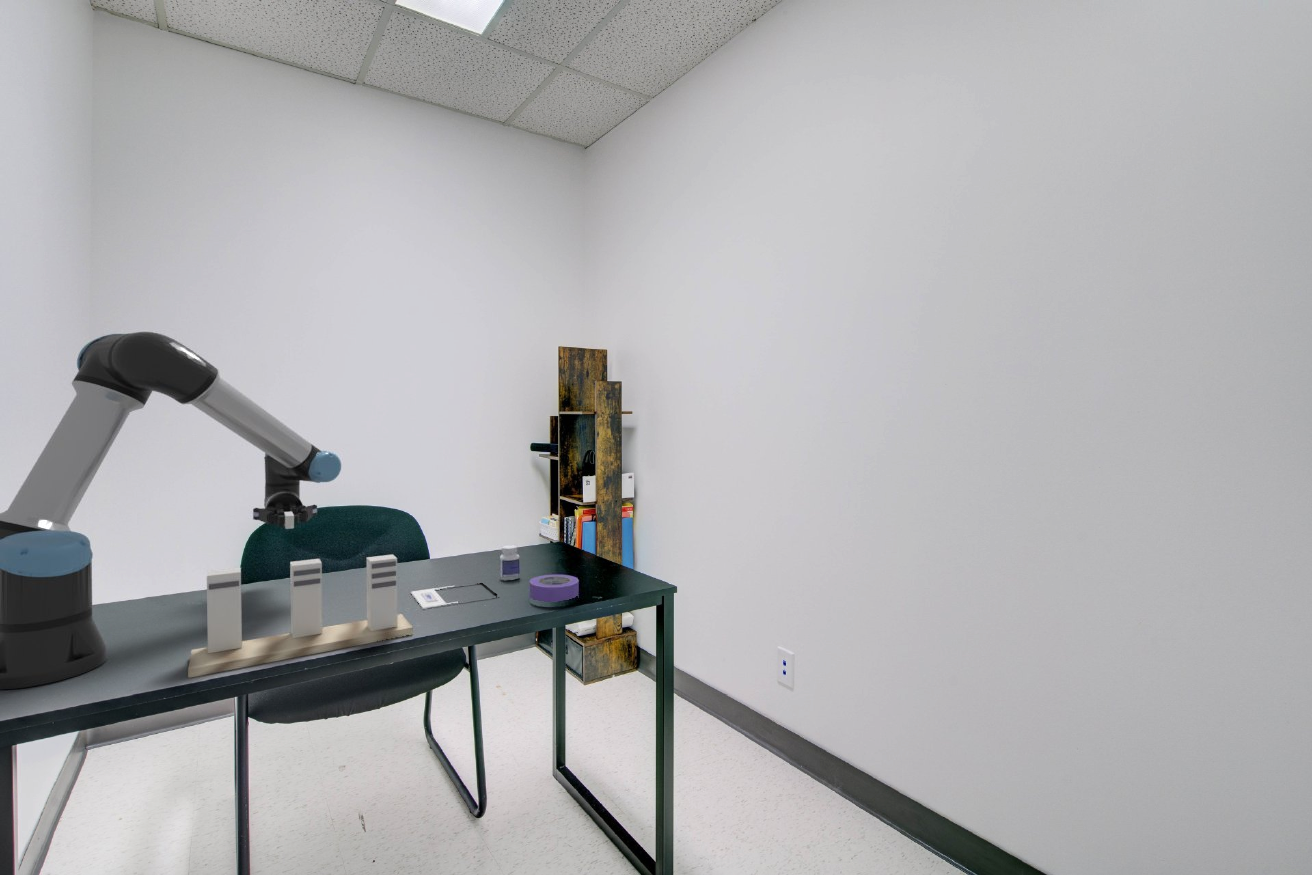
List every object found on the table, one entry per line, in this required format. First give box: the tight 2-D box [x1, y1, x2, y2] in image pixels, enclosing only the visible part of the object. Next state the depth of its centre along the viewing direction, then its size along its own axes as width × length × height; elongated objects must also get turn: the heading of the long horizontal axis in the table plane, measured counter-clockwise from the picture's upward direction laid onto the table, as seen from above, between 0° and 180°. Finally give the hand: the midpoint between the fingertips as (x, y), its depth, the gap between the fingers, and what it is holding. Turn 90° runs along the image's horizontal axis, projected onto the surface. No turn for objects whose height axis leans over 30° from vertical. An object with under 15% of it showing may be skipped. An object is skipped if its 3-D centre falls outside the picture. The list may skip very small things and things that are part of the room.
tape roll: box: [529, 574, 580, 602], centre depth 146 cm, size 12×12×5 cm
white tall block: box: [289, 558, 323, 638], centre depth 117 cm, size 5×4×14 cm
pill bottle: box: [499, 544, 521, 577], centre depth 164 cm, size 5×5×9 cm
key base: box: [187, 613, 414, 679], centre depth 115 cm, size 36×10×2 cm, turn 125°
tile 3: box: [366, 554, 398, 631], centre depth 122 cm, size 5×4×14 cm
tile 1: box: [206, 567, 243, 653], centre depth 110 cm, size 5×4×14 cm
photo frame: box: [410, 585, 458, 610], centre depth 148 cm, size 15×1×18 cm
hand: (289, 522), depth 126 cm, fingers closed
